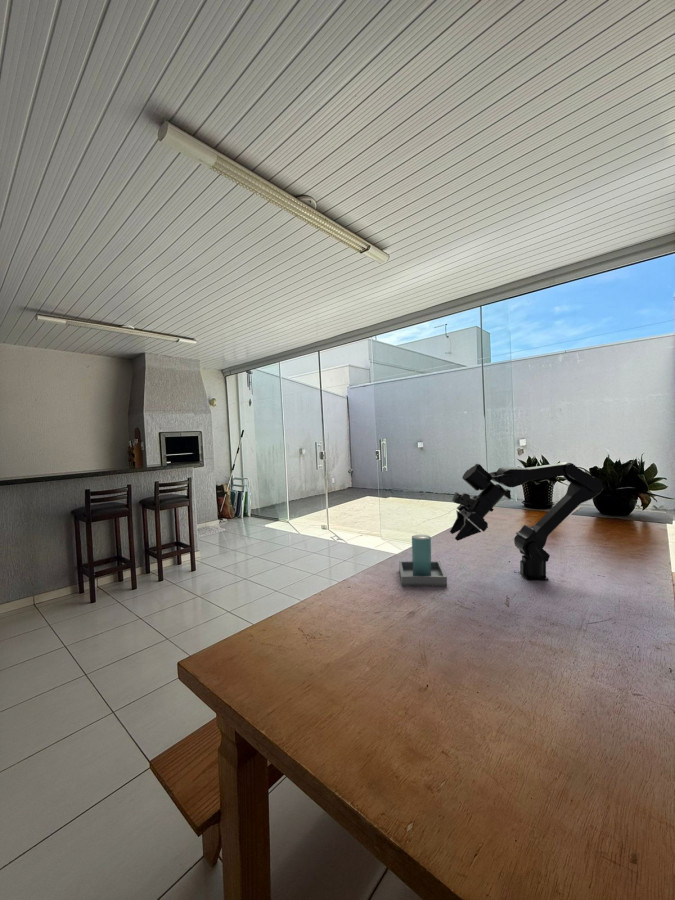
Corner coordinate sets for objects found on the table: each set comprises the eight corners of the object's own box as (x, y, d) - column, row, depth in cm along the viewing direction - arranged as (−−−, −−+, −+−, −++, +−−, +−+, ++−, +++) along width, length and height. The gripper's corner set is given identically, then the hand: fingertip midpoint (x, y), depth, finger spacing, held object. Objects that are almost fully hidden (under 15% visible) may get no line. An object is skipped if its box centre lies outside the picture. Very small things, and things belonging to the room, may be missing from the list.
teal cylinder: (434, 573, 126) (433, 535, 125) (427, 580, 121) (426, 540, 120) (416, 570, 129) (416, 533, 129) (409, 576, 124) (408, 538, 124)
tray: (439, 569, 131) (439, 561, 131) (447, 586, 118) (446, 576, 118) (399, 569, 133) (399, 561, 133) (401, 586, 119) (401, 576, 119)
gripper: (461, 480, 132) (430, 514, 134) (473, 486, 114) (438, 525, 115) (486, 502, 131) (455, 535, 133) (503, 511, 113) (467, 550, 114)
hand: (453, 536), depth 124 cm, fingers open, 9 cm apart
